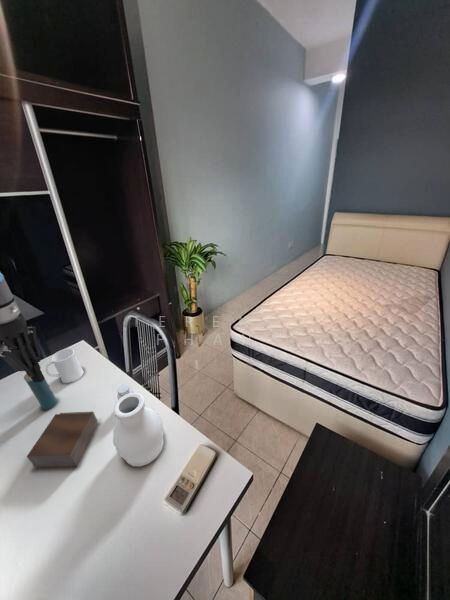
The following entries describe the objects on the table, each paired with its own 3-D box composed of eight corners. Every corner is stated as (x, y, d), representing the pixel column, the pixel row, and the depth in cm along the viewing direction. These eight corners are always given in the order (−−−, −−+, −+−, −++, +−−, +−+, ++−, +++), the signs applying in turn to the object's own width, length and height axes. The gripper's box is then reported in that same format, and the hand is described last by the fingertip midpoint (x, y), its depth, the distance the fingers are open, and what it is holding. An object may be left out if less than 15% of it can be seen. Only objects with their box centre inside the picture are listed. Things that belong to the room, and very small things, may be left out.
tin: (42, 403, 94) (24, 373, 87) (57, 397, 97) (41, 367, 89) (42, 413, 90) (23, 382, 83) (58, 406, 93) (40, 375, 85)
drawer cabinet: (62, 426, 85) (55, 414, 82) (98, 425, 85) (92, 412, 82) (36, 469, 73) (26, 456, 70) (77, 467, 73) (70, 454, 70)
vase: (138, 482, 68) (120, 439, 59) (111, 452, 76) (90, 409, 67) (176, 441, 78) (165, 398, 69) (148, 418, 86) (135, 377, 77)
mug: (52, 390, 100) (40, 368, 94) (53, 376, 107) (42, 355, 101) (84, 378, 105) (74, 356, 99) (83, 366, 111) (74, 345, 106)
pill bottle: (129, 397, 95) (124, 380, 91) (139, 402, 92) (133, 385, 88) (118, 407, 91) (111, 390, 87) (127, 413, 88) (121, 396, 84)
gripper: (-1, 331, 62) (37, 396, 73) (34, 305, 73) (62, 365, 84) (-31, 332, 62) (12, 397, 73) (9, 306, 73) (40, 366, 84)
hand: (39, 380), depth 79 cm, fingers closed
